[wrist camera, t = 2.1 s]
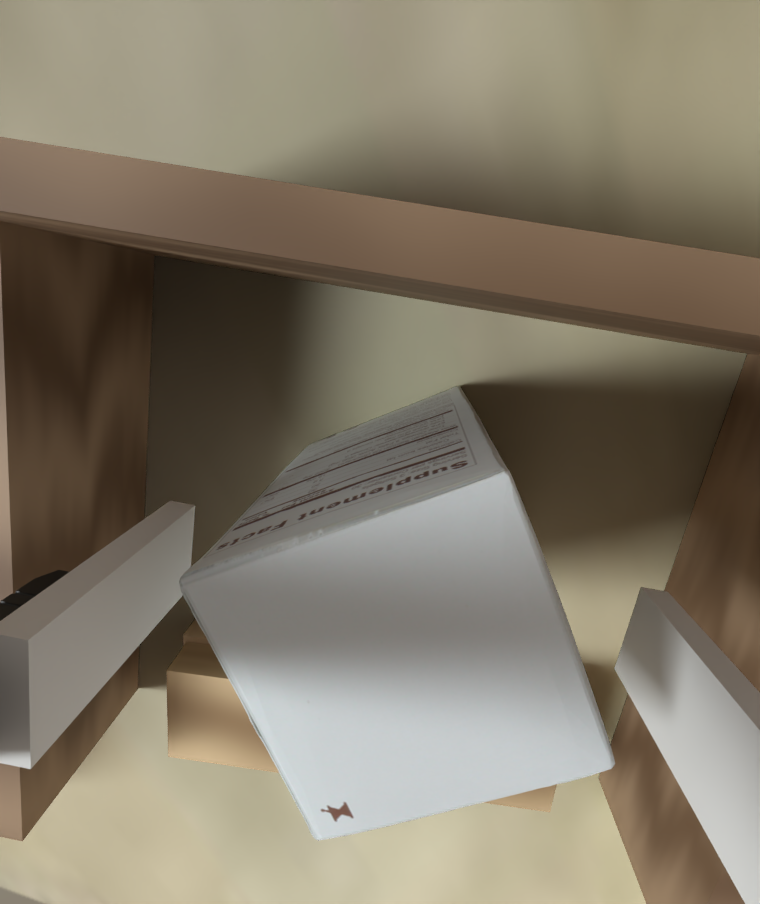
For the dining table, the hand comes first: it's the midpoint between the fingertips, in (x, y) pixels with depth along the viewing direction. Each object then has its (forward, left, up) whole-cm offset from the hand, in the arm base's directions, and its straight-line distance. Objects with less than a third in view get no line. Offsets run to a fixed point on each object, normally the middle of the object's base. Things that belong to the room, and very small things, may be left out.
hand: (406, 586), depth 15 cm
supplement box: (0, 0, -8) cm, 8 cm away
